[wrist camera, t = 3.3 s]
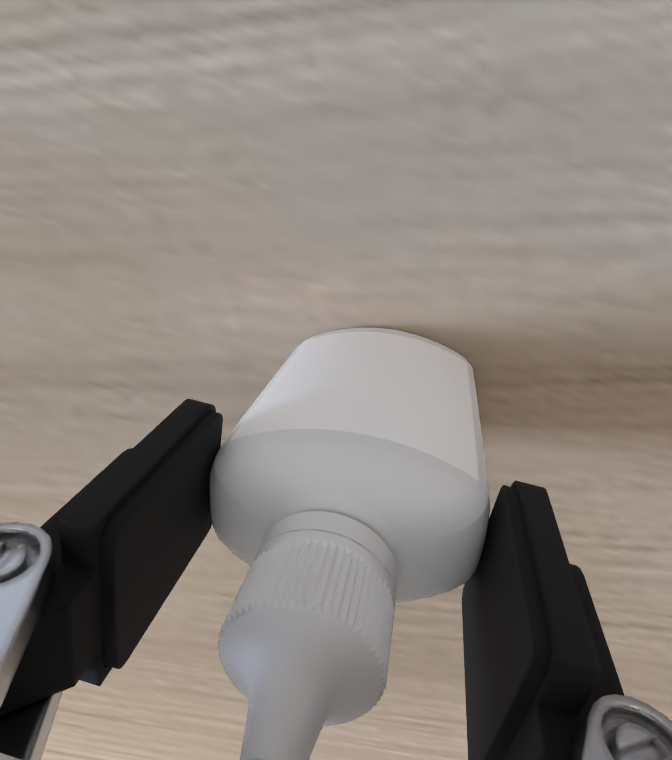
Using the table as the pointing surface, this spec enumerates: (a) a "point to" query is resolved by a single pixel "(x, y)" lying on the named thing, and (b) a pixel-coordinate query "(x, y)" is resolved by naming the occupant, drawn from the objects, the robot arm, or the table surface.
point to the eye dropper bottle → (343, 523)
